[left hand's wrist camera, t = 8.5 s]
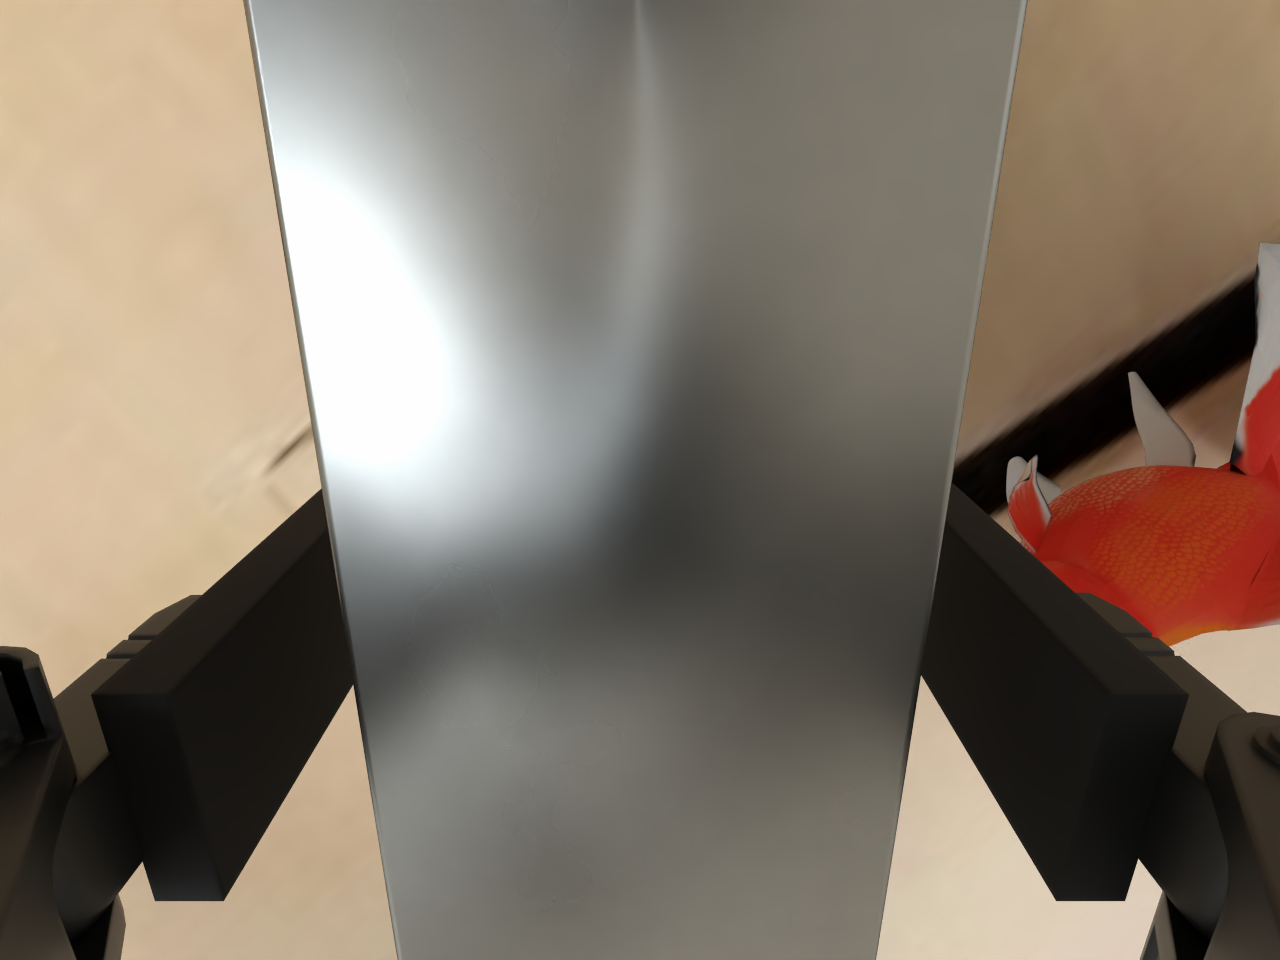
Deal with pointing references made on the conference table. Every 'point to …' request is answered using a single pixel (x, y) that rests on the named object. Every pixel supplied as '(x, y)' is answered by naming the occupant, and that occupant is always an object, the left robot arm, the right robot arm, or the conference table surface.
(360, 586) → the bar
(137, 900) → the conference table surface
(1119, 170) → the conference table surface
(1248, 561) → the fish
